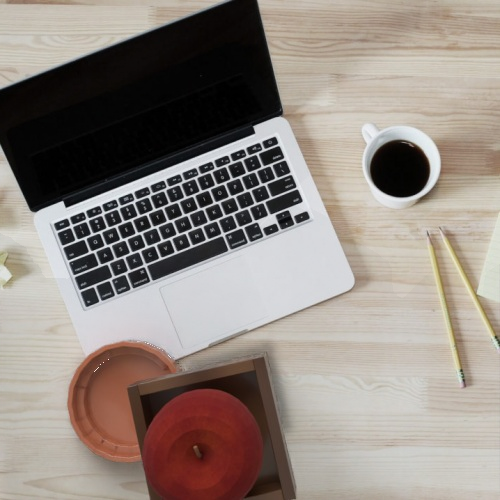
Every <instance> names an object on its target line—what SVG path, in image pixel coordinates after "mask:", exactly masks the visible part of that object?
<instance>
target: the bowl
mask: <svg viewBox="0 0 500 500" xmlns="http://www.w3.org/2000/svg"><path fill="white" fill-rule="evenodd" d="M137 341H138V340H134V341H125V340H121V341H117V342H112V343H113V344H112V343H108V344H105V345H103V346H101V347H100V348H98V349H96V350H95V351H93V352H91V353H90V354H88V355H87V356H86V358H85V359H84V360H83V361H82V362H81V363H80V364H79V366H78V367H77V368H76V369H75V372H74V374H73V376H72V379H71V380H70V384H69V386H68V394H67V403H66V404H67V406H66V407H67V411H68V417H69V421H70V425H71V427H72V428H73V430H74V432H75V434H76V436H77V437H78V440H79V441H80V442H81V443H82V444H83V445H84V446H86V447H87V448H88V449H89V450H90V451H91V452H92V453H93V454H95V455H97V456H99V457H101V458H103V459H106V460H108V461H111V462H117V463H127V464H130V463H135V462H140V461H141V462H142V459H141V454H140V449H139V445H138V440H137V435H136V430H135V426H134V421H133V416H132V411H131V407H130V402H129V397H128V392H127V386H129V385H131V384H133V383H135V382H137V381H141V380H145V379H150V378H154V377H159V376H163V375H168V374H172V373H177V372H181V371H182V369H181V367H180V365H179V364H178V362H177V360H176V359H174V358H173V356H171V355H170V354H169V353H168V352H167V351H166V350H165V349H163V348H161V347H160V346H157V345H154V344H153V343H150V342H148V341H143V340H140V341H141V342H137ZM145 342H146V343H145ZM147 343H149V344H147ZM150 344H151V345H150ZM152 345H153V346H152ZM154 346H155V347H154ZM157 347H158V348H157ZM159 348H160V349H159ZM162 350H163V351H162ZM168 355H169V356H170V357H171V358H170V357H169V356H168ZM108 359H109V360H108ZM103 362H104V363H103ZM100 364H101V365H100ZM98 367H99V368H98ZM97 368H98V369H97ZM96 369H97V370H96ZM95 370H96V371H95ZM94 371H95V372H94Z"/></svg>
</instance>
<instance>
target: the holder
mask: <svg viewBox="0 0 500 500" xmlns="http://www.w3.org/2000/svg"><path fill="white" fill-rule="evenodd" d="M256 354H257V353H256ZM247 356H248V355H247ZM267 356H268V353H267V354H266V353H262V354H257V355H253V356H248V357H244V356H243V357H244V358H239V357H238V358H239V359H235V358H234V359H235V360H230V359H229V360H230V361H226V360H225V361H226V362H221V361H220V362H221V363H217V362H216V363H217V364H212V363H211V364H212V365H208V364H207V365H208V366H203V365H202V366H203V367H199V366H198V367H199V368H195V367H193V368H191V369H186V370H181V372H177V373H172V374H168V375H163V376H159V377H154V378H150V379H145V380H141V381H137V382H135V383H133V384H131V385H129V386H127V392H128V397H129V402H130V407H131V411H132V416H133V421H134V426H135V430H136V435H137V440H138V445H139V449H140V454H141V459H142V451H143V445H144V439H145V436H146V433H147V430H148V428H149V426H150V424H151V422H152V421H153V419H154V417H155V416H156V415H157V414H158V412H159V411H160V410H161V409H162V408H163V407H164V406H165V405H166V404H167V403H168V402H170V401H171V400H172V399H174V398H175V397H177V396H179V395H181V394H183V393H186V392H189V391H193V390H198V389H214V390H220V391H223V392H226V393H229V394H231V395H232V396H234V397H235V398H237V399H239V400H240V401H241V402H242V403H243V404H244V405H245V406H246V407H247V408H248V410H249V411H250V412H251V414H252V415H253V416H254V418H255V420H256V422H257V424H258V426H259V429H260V432H261V436H262V440H263V460H262V466H261V469H260V472H259V475H258V478H257V480H256V482H255V483H254V485H253V487H252V489H251V490H250V491H249V492H248V493H247V495H246V496H245V497H244V498H243V499H241V500H296V499H297V482H296V478H295V473H294V470H293V469H294V468H293V464H292V461H291V456H290V451H289V448H288V443H287V438H286V435H285V430H284V425H282V422H283V419H282V420H281V418H282V415H281V416H280V414H281V411H280V412H279V409H280V406H279V407H278V405H279V402H278V403H277V400H278V397H277V398H276V396H277V393H276V394H275V392H276V388H275V389H274V387H275V384H274V385H273V383H274V380H273V381H272V378H273V375H272V376H271V374H272V371H271V372H270V369H271V366H270V367H269V365H270V362H269V363H268V361H269V357H268V358H267ZM144 477H145V482H146V487H147V491H148V496H149V500H163V499H162V498H161V497H160V496H159V495H157V494H156V492H155V491H154V490H153V488H152V487H151V486H150V484H149V482H148V480H147V478H146V476H145V475H144Z"/></svg>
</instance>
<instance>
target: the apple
mask: <svg viewBox="0 0 500 500" xmlns="http://www.w3.org/2000/svg"><path fill="white" fill-rule="evenodd" d="M262 460H263V440H262V436H261V432H260V429H259V426H258V424H257V422H256V420H255V418H254V416H253V415H252V414H251V412H250V411H249V410H248V408H247V407H246V406H245V405H244V404H243V403H242V402H241V401H240V400H239V399H237V398H235V397H234V396H232V395H231V394H229V393H226V392H223V391H220V390H214V389H198V390H193V391H189V392H186V393H183V394H181V395H179V396H177V397H175V398H174V399H172V400H171V401H170V402H168V403H167V404H166V405H165V406H164V407H163V408H162V409H161V410H160V411H159V412H158V414H157V415H156V416H155V417H154V419H153V421H152V422H151V424H150V426H149V428H148V430H147V433H146V436H145V439H144V445H143V451H142V460H141V463H142V464H141V465H142V468H143V472H144V477H145V476H146V478H147V480H148V482H149V484H150V486H151V487H152V488H153V490H154V491H155V492H156V494H157V495H159V496H160V497H161V498H162V499H163V500H241V499H243V498H244V497H245V496H246V495H247V493H248V492H249V491H250V490H251V489H252V487H253V485H254V483H255V482H256V480H257V478H258V475H259V472H260V469H261V466H262ZM146 478H145V479H146Z"/></svg>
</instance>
